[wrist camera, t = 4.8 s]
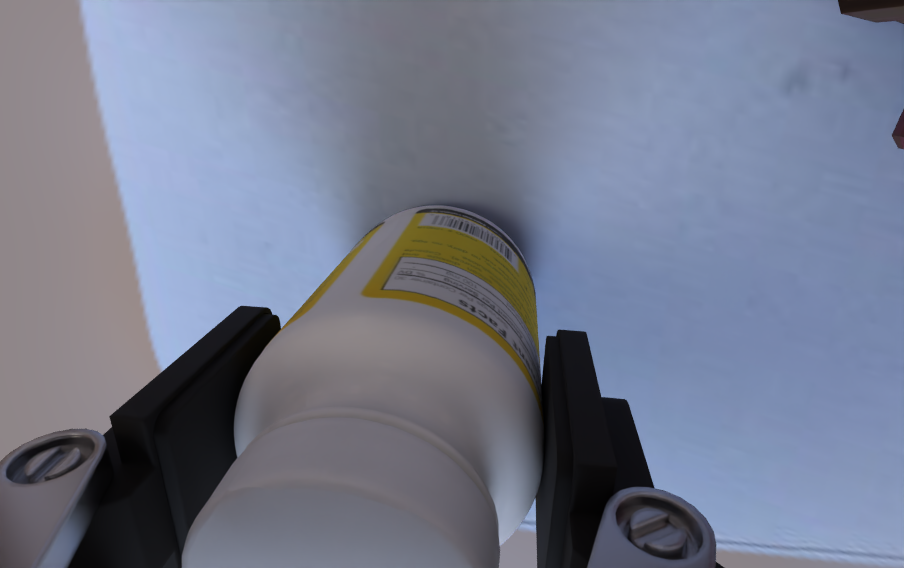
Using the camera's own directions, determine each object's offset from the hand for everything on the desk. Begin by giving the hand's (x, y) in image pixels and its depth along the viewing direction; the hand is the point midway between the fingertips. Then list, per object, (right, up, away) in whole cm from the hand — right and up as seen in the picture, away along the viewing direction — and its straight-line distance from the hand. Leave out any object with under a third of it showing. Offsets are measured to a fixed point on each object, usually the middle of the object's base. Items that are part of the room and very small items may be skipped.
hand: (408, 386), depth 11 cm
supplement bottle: (+1, +2, +5) cm, 5 cm away
